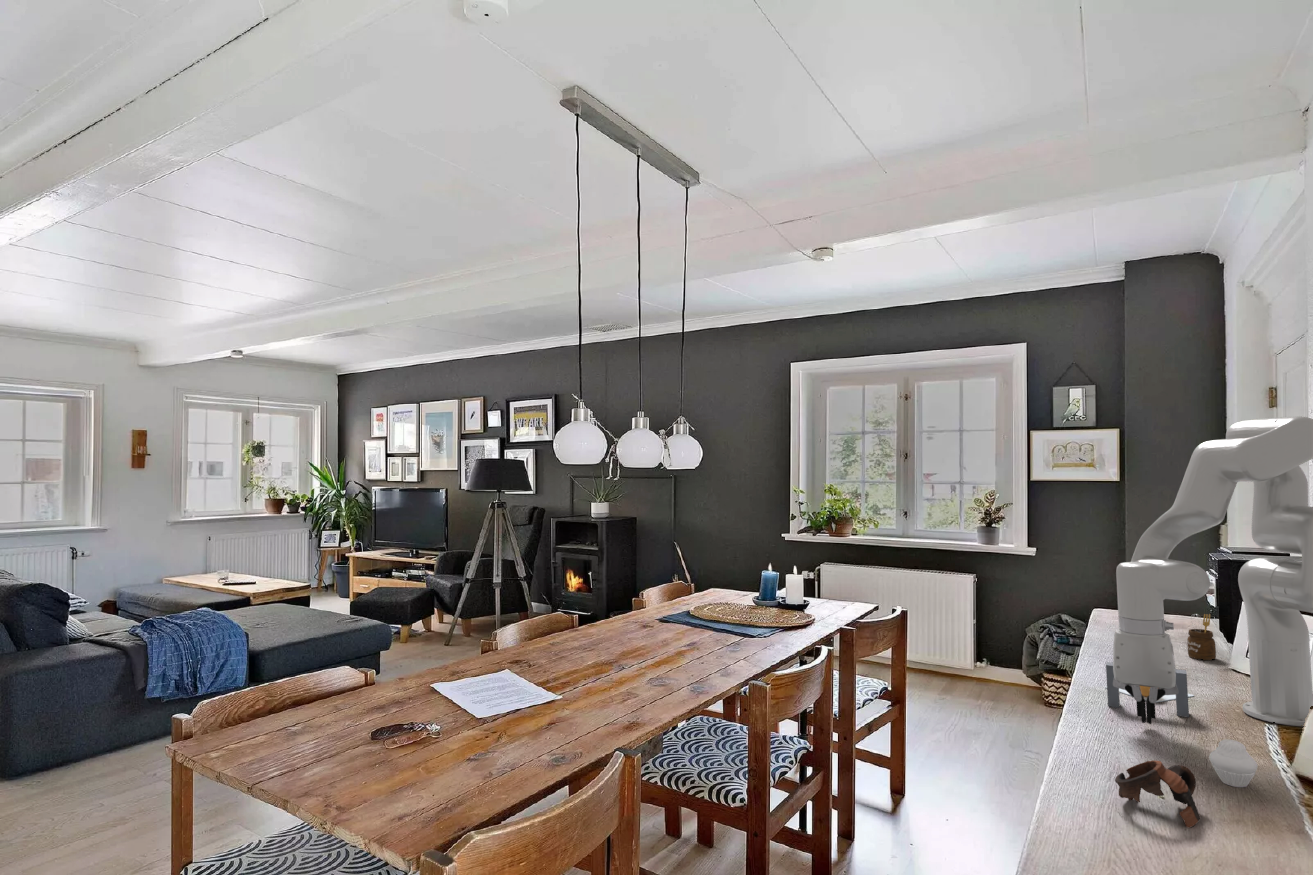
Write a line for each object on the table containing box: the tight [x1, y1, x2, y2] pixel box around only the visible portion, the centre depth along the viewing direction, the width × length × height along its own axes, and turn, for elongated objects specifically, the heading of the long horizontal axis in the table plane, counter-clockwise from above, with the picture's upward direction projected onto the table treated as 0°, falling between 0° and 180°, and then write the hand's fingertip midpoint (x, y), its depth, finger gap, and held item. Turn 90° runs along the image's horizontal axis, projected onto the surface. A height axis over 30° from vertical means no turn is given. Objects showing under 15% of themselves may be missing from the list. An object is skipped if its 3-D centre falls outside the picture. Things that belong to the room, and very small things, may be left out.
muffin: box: [1208, 738, 1258, 788], centre depth 118 cm, size 6×6×7 cm
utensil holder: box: [1186, 613, 1217, 661], centre depth 191 cm, size 6×6×12 cm
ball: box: [1140, 686, 1150, 697], centre depth 162 cm, size 5×5×5 cm
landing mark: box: [1104, 685, 1195, 703], centre depth 165 cm, size 12×12×1 cm
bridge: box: [1105, 661, 1190, 718], centre depth 153 cm, size 3×14×9 cm, turn 56°
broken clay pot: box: [1114, 759, 1202, 828], centre depth 110 cm, size 12×10×8 cm
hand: (1146, 721), depth 143 cm, fingers closed
